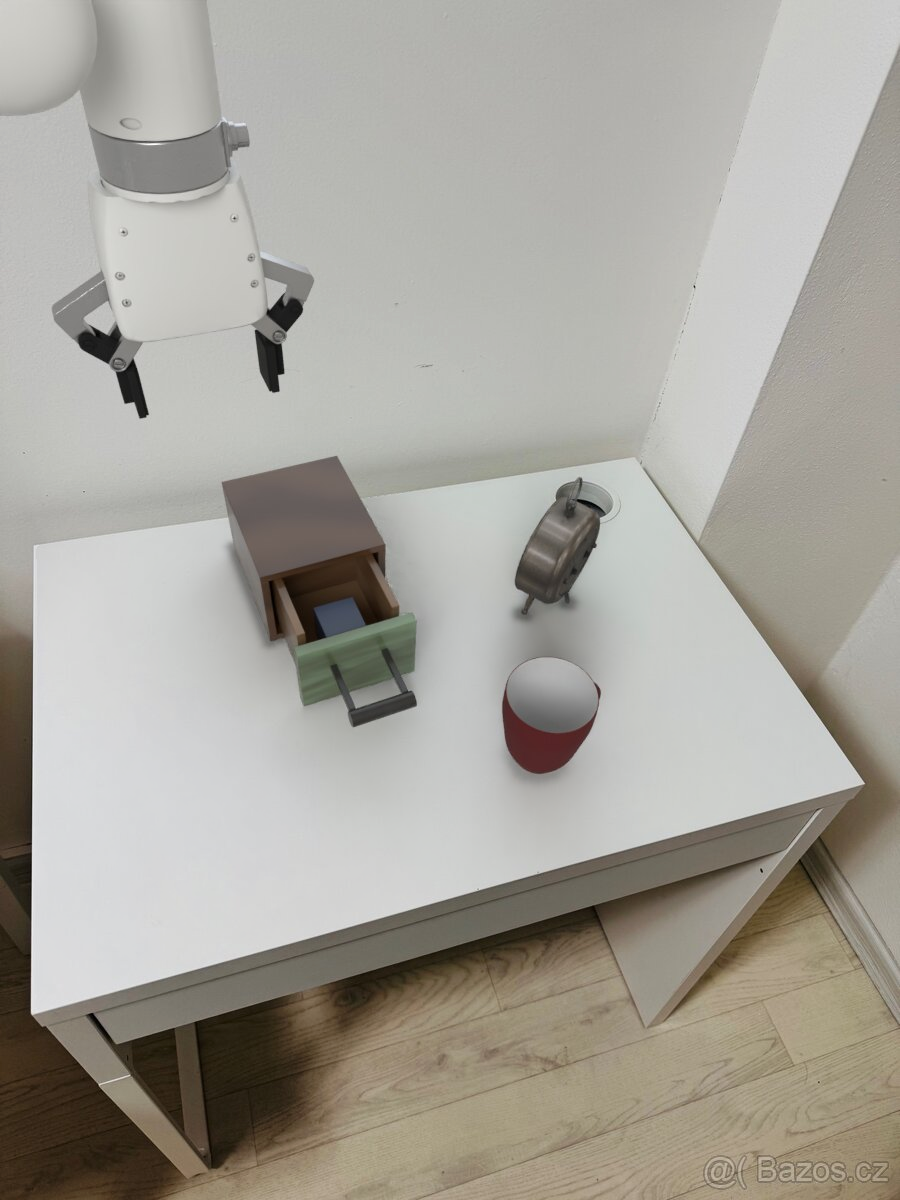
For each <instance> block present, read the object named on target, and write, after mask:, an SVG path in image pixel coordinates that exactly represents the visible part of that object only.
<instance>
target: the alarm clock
mask: <svg viewBox="0 0 900 1200" xmlns="http://www.w3.org/2000/svg"><path fill="white" fill-rule="evenodd" d="M583 482H584V481H583V477H582V476H578V477H577V478H576V479H575V481H573V484H572V486H571V488H570V490H569V492H568V495H564V496H560V497H558V498H557V499H556V500H555V501H554V502H553V503H552V504H551V505H550V506H549V508H548V509H547V510H546V511H545V513H544V514H543V516H542V517H541V519H540V520H539V522H538V524H537V525H536V527H535V528H534V530H533V532H532V533H531V535H530V536H529V539H528V541H527V544H526V545H525V546H524V549H523V552H522V553H521V557H520V559H519V561H518V565H517V568H516V570H515V571H516V572H515V576H514V586H515V588H516V589H517V590H518V591H521V592H523V593H525V594H526V595H528V597H527V599H526V601H525V604H524V607H523V609H522V610H521V614H522V615H524V616H525V615H527V614H528V610H529V608H530V607H531V606H532V604H533V602H534V601H535V599H536V600H538V601H539V602H541V603H542V604H545V605H553V604H555V603H558V602H560V600H561V599H562V598H564V600H565V602H566V603H567V605H568V604H570V601H571V599H570V594H569V593H570V592H571V590H572V587H573V586H574V584H575V583H576V581H577V579H578V578H579V576H580V575H581V573H582V571H583V570H584V568H585V566H586V564H587V563H588V560H589V558H590V556H591V554H592V553H593V550H594V549H596V548H597V545H598V543H596V542H597V540H598V536H599V533H600V529H601V518H600V515H599V514H598V512H597V511H596V510H595V509H592V508H591V507H589V506H587V505H585V504H582V503H581V502H578V501H577V500H578V498H579V496H580V494H581V491H582V487H583ZM578 484H579V485H578ZM577 485H578V489H577V492H576V495H575V497H574V499H573V498H572V495H573V492H574V490H575V488H576V486H577Z"/></svg>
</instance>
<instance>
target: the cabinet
mask: <svg viewBox="0 0 900 1200" xmlns="http://www.w3.org/2000/svg"><path fill="white" fill-rule="evenodd" d="M221 486H222V487H221V488H222V492H223V497H224V503H225V507H226V513H227V517H228V522H229V528H230V533H231V539H232V544H233V548H234V551H235V553H236V556H237V559H238V561H239V564H240V566H241V569H242V572H243V574H244V577H245V579H246V582H247V585H248V587H249V590H250V593H251V596H252V597H253V598H252V599H253V600H254V602H255V603H254V604H255V605H256V608H257V611H258V613H259V616H260V618H261V621H262V623H263V626H264V629H265V632H266V634H267V636H268V639H269V642H274V641H278V640H281V639H285V638H284V635H283V633H282V630H281V628H280V625H279V623H278V620H277V618H276V615H275V613H274V610H273V605H272V599H271V592H270V586H269V581H272V580H275V579H279V578H283V577H286V576H290V575H294V574H298V573H301V572H305V571H309V570H312V569H316V568H320V567H323V566H327V565H331V564H335V563H338V562H342V561H346V560H349V559H353V558H357V557H361V556H364V555H368V554H373V556H374V558H375V560H376V562H377V564H378V566H379V568H380V570H381V571H382V573H383V575H384V577H385V578H386V543H385V541H384V539H383V537H382V536H381V535H382V534H381V533H380V531H379V530H378V528H377V525H376V524H375V522H374V521H373V519H372V517H371V516H370V513H369V511H368V509H367V507H366V505H365V504H364V502H363V501H362V499H361V496H360V495H359V493H358V491H357V490H356V488H355V486H354V484H353V482H352V481H351V479H350V476H349V475H348V473H347V472H346V469H345V467H344V466H343V464H342V462H341V460H340V459H339V456H338V455H334V456H329V457H325V458H320V459H316V460H312V461H306V462H303V463H299V464H294V465H289V466H285V467H280V468H276V469H272V470H267V471H263V472H260V473H259V472H258V473H255V474H251V475H247V476H242V477H238V478H237V477H236V478H233V479H228V480H224V481H221Z"/></svg>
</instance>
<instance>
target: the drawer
mask: <svg viewBox="0 0 900 1200" xmlns="http://www.w3.org/2000/svg"><path fill="white" fill-rule="evenodd" d="M269 586H270V592H271V599H272V605H273V610H274V613H275V615H276V618H277V620H278V623H279V625H280V628H281V630H282V633H283V635H284V638H283V639H284V640H285V643H286V645H287V648H288V650H289V653H290V655H291V657H292V660H293V662H294V665H295V669H296V677H297V684H298V692H299V698H300V701H301V703H302V706H303V707H308V706H311V705H315V704H317V703H320V702H323V701H327V700H329V699H333V698H336V697H339V696H342V699H343V701H344V703H345V706H346V709H347V717H348V721H349V723H350V725H351V727H352V729H353V728H356V727H359V726H362V725H365V724H368V723H372V722H374V721H378V720H380V719H383V718H386V717H389V716H392V715H395V714H398V713H401V712H405V711H408V710H410V709H413V708H416V707H417V706H418V702H417V698H416V694H415V692H414V691H413V690H409V688H408V687H407V684H406V683H405V680H404V677H402V676H405V675H408V674H410V673H414V672H415V669H416V668H415V667H416V644H417V619H416V617H415V615H414V613H413V612H408V613H405V614H401V615H400V603H399V601H398V600H397V598H396V596H395V594H394V593H393V590H392V589H391V587H390V585H389V583H388V581H387V578H386V576H385V577H384V575H383V573H382V571H381V570H380V568H379V566H378V564H377V562H376V560H375V558H374V556H373V554H368V555H364V556H361V557H357V558H353V559H349V560H346V561H342V562H338V563H335V564H331V565H327V566H323V567H320V568H316V569H312V570H309V571H305V572H301V573H298V574H294V575H290V576H286V577H283V578H279V579H275V580H272V581H269ZM350 597H353V599H354V601H355V603H356V605H357V607H358V610H359V612H360V614H361V616H362V618H363V620H364V622H365V624H366V626H364V627H361V628H357V629H354V630H351V631H347V632H344V633H341V634H337V635H334V636H331V637H327V638H324V639H320V640H318V637H317V635H316V629H315V619H314V609H313V608H315V607H318V606H322V605H325V604H329V603H332V602H336V601H339V600H343V599H347V598H350ZM392 679H393V680H394V682H395V684H396V686H397V688H398V690H399V692H400V693H399V694H396V695H393V696H390V697H386V698H384V699H380V700H378V701H374V702H372V703H368V704H365V705H362V706H360V707H357V708H356V705H355V703H354V700H353V698H352V695H351V694H350V693H352V692H354V691H358V690H360V689H364V688H367V687H370V686H373V685H377V684H380V683H383V682H387V681H389V680H392Z"/></svg>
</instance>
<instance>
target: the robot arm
mask: <svg viewBox="0 0 900 1200" xmlns="http://www.w3.org/2000/svg"><path fill="white" fill-rule="evenodd" d="M208 7H209V6H208V0H0V117H13V116H14V117H17V116H21V117H22V116H28V115H34V114H39V113H45V112H47V111H51V110H52V109H55V108H58V107H59V106H61V105H62V104H64V103H65V102H67V101H69V100H70V99H71V98H73V97H74V96H75V95H76V94H77V93H78V92H79V93H80V97H81V101H82V106H83V110H84V114H85V119H86V122H87V127H88V132H89V135H90V138H91V144H92V147H93V152H94V156H95V160H96V164H97V167H95V168H94V169H92V170H91V171H89V173H88V175H87V197H88V207H89V216H90V223H91V229H92V234H93V235H92V236H93V241H94V245H95V249H96V256H97V259H98V265H99V269H100V271H99V272H98V273H96V274H95V275H93V276H91V278H89V279H88V280H86V281H85V282H83V283H82V284H81V285H79V286H77V287H76V288H75V289H73V290H72V291H70V292H68V293H67V294H66V295H65V296H63V297H62V298H60V299H59V300H58V301H56V302H54V304H52V306H51V312H52V317H53V321H54V323H55V324H56V325H57V326H58V327H59V328H60V329H61V330H63V331H64V333H65V334H66V335H67V336H68V337H69V338H71V340H74V341H75V343H76V344H77V345H78V347H79V348H80V349H81V350H82V351H83V352H85V353H87V354H88V355H90V356H92V357H94V358H96V359H98V360H100V361H102V362H103V363H105V364H107V365H109V367H110V369H111V370H112V371H113V372H115V375H116V379H117V383H118V386H119V390H120V393H121V397H122V400H123V404H124V405H127V404H132V403H133V404H134V406H135V410H136V413H137V415H138V418H139V420H141V419H145V418H147V416H150V413H149V410H148V405H147V400H146V397H145V392H144V389H143V386H142V385H143V384H142V380H141V377H140V373H139V369H138V367H137V364H136V360H135V357H136V355H137V353H138V351H139V350H140V348H141V346H142V345H143V343H154V342H161V341H168V340H173V339H179V338H186V337H192V336H198V335H199V336H200V335H205V334H209V333H216V332H222V331H227V330H232V329H238V328H244V327H247V326H252V328H254V338H255V345H256V353H257V361H258V369H259V373H260V375H261V377H262V380H263V382H264V384H265V385H266V388H267V389H268V392H270V393H272V394H276V393H279V392H281V391H280V380H279V376H282V375H285V373H286V371H285V361H284V353H283V352H284V351H283V343H285V342H286V340H287V339H288V335H287V332H288V331H289V330H290V329H291V328H292V327H293V325H294V324H295V323H296V322H297V321H298V320H299V318H300V317H301V315H302V314H303V312H304V304H305V302H307V300H308V297H309V295H310V293H311V291H312V288H313V286H314V283H315V277H314V276H313V275H312V273H311V272H310V270H309V269H308V268H307V267H306V266H305V265H304V266H303V265H301V264H298V263H295V262H293V261H290V260H287V259H284V258H281V257H278V256H275V255H272V254H270V253H267V252H265V251H261V250H260V246H259V241H258V235H257V232H256V226H255V221H254V218H253V214H252V210H251V206H250V202H249V198H248V195H247V191H246V189H245V185H244V182H243V179H242V176H241V173H240V170H239V168H238V165H237V164H236V162H235V161H234V160H232V159H231V158H232V157H233V152H236V151H239V149H243V148H249V147H250V142H251V141H250V134H249V130H248V127H247V123H246V122H234V121H233V120H227V119H226V118H225V116H224V115H222V108H221V102H220V101H221V100H220V92H219V85H218V77H217V70H216V69H217V68H216V62H215V54H214V53H215V52H214V47H213V39H212V31H211V22H210V15H209V9H208ZM266 279H269V280H272V281H274V282H278V283H281V284H284V285H286V287H285V291H284V292H283V293H282V294H281V296H280V297H279V298H278V299H277V300H276V302H275V303H274V304H273V306H272V307H271V308H270V307H269V306H268V305H269V304H268V303H269V302H268V290H267V283H266ZM107 302H108V305H109V308H110V310H111V312H112V314H113V317H114V322H113V324H112V326H111V327H110V329H109V331H108V332H107V333H105V332H104V331H101V330H100V329H98V328H97V327H94V326H93V325H91V324H89V323H88V322H86V320H85V317H86V316H87V315H89V314H91V313H93V312H94V311H95V310H96V309H98V308H99V307H101V306H103V304H105V303H107Z"/></svg>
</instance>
